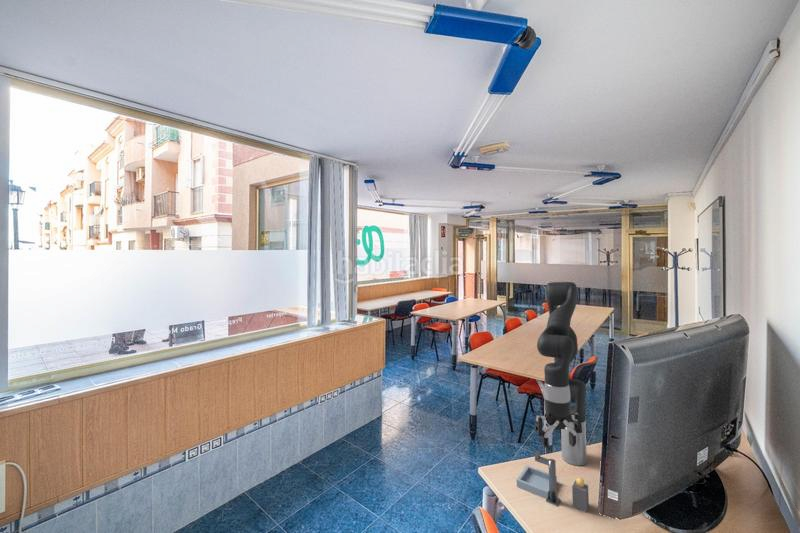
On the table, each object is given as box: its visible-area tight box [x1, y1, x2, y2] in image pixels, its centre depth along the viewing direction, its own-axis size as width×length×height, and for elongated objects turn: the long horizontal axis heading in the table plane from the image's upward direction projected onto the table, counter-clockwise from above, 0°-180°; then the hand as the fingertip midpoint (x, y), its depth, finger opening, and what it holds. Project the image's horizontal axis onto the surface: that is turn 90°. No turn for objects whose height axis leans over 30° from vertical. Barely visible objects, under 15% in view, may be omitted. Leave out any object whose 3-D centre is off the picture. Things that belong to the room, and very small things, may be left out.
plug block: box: [571, 477, 590, 513], centre depth 111 cm, size 4×4×9 cm
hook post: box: [534, 450, 561, 507], centre depth 115 cm, size 4×7×15 cm, turn 50°
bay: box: [516, 464, 558, 500], centre depth 123 cm, size 11×11×2 cm
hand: (559, 446), depth 107 cm, fingers open, 8 cm apart
